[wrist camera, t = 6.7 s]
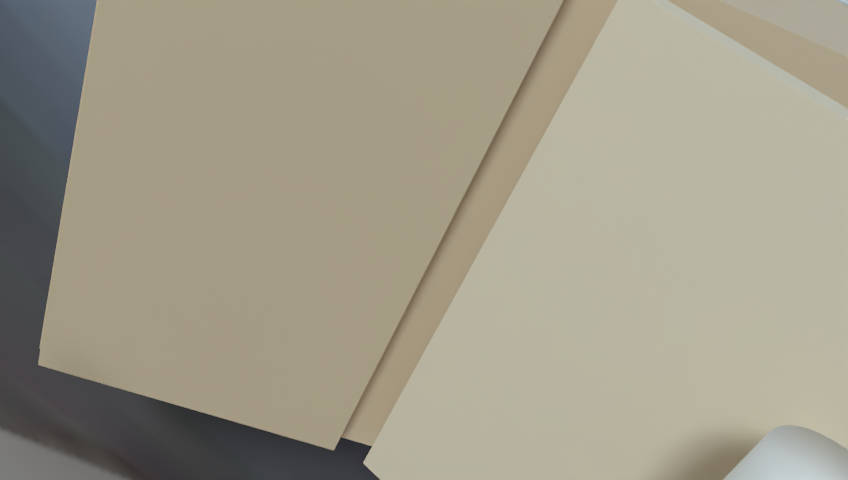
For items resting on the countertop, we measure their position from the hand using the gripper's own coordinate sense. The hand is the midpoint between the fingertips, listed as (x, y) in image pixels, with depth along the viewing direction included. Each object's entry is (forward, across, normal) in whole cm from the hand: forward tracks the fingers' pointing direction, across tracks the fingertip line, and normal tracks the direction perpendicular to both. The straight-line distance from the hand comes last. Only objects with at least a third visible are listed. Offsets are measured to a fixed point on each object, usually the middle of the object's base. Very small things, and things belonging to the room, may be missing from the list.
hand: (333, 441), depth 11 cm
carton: (+10, -2, 0) cm, 11 cm away
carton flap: (+3, -5, +1) cm, 6 cm away
